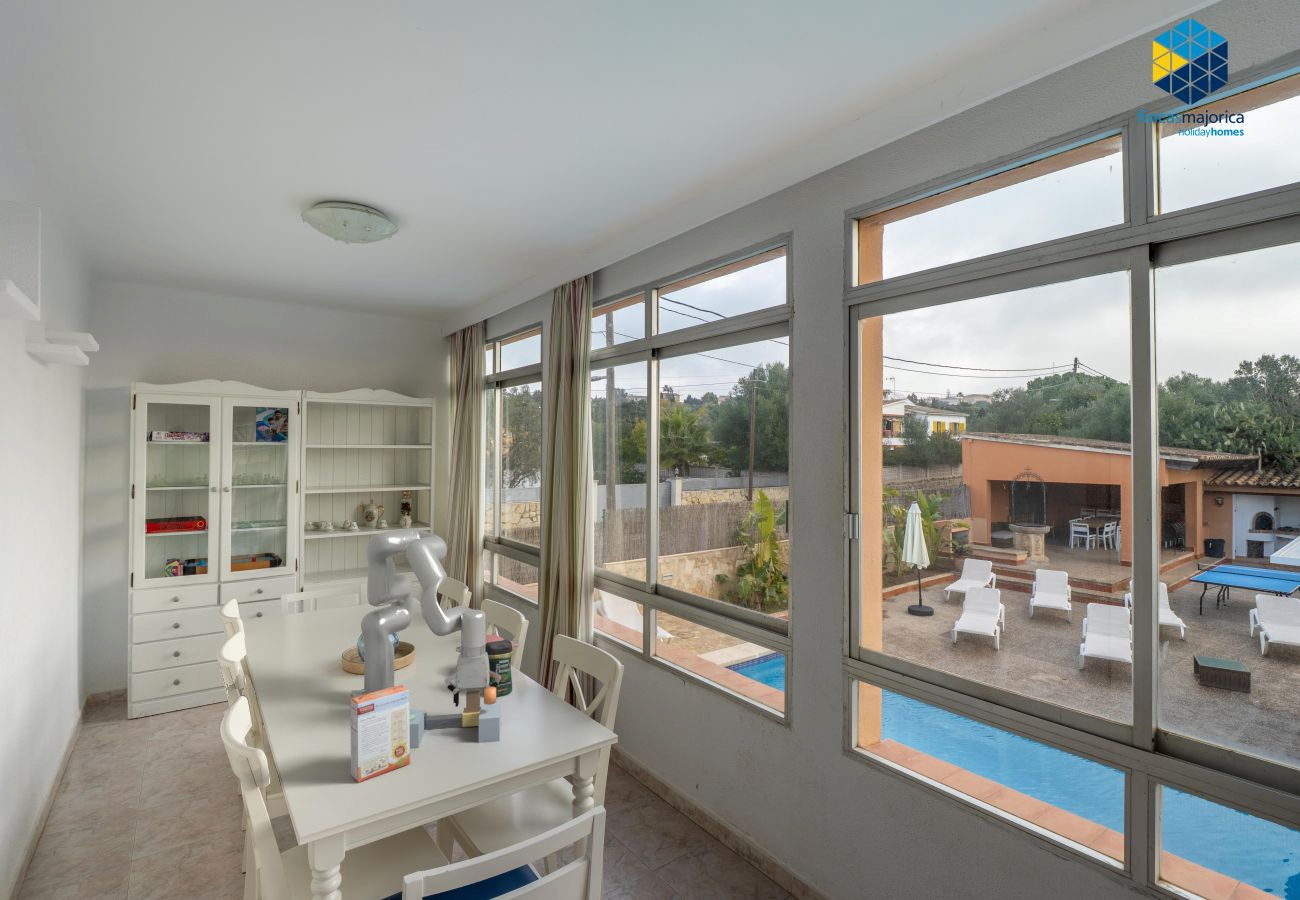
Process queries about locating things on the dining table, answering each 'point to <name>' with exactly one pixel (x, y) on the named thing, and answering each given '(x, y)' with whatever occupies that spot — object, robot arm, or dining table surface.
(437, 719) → the rail
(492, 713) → the cabinet far
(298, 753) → the dining table surface
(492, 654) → the coffee jar
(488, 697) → the orange rounded cube
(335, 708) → the dining table surface
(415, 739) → the cabinet near
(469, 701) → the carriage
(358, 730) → the cracker box
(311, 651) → the dining table surface
